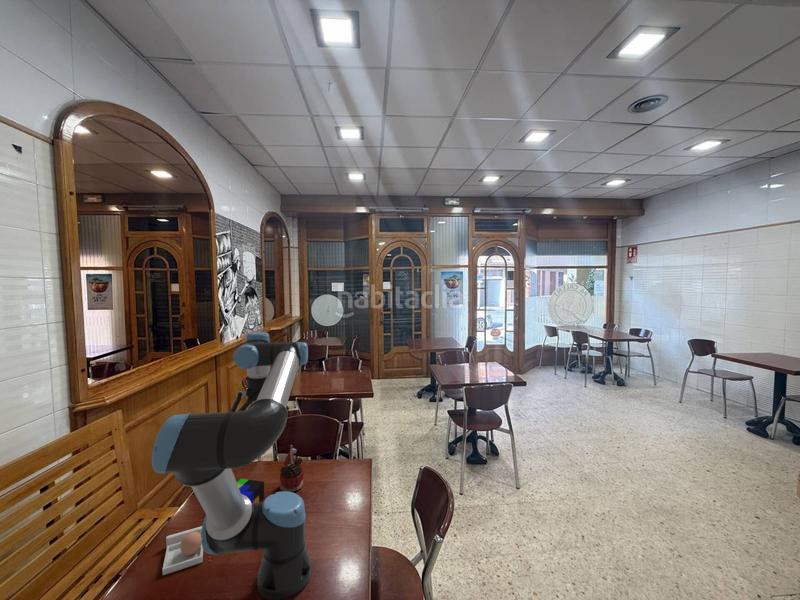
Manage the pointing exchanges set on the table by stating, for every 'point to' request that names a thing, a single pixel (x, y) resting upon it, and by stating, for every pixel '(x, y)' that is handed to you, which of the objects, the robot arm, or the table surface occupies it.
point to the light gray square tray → (180, 559)
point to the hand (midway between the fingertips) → (259, 434)
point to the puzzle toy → (252, 489)
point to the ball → (191, 543)
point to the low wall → (180, 536)
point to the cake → (291, 473)
